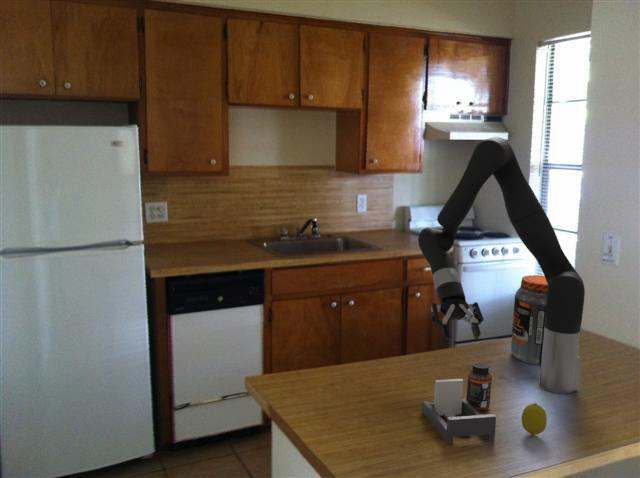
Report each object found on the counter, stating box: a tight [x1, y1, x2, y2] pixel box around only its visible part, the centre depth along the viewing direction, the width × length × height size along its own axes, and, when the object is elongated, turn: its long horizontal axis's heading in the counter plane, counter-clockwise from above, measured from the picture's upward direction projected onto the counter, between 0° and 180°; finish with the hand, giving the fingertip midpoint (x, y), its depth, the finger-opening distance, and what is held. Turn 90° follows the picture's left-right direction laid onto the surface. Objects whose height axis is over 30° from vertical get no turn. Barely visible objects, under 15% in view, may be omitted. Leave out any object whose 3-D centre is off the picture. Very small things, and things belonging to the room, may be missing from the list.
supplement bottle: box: [465, 362, 493, 412], centre depth 149 cm, size 6×6×11 cm
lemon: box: [521, 402, 548, 437], centre depth 135 cm, size 6×6×8 cm
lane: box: [421, 397, 497, 446], centre depth 139 cm, size 11×16×6 cm
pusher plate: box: [433, 378, 464, 420], centre depth 139 cm, size 7×11×9 cm, turn 11°
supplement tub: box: [510, 274, 548, 366], centre depth 184 cm, size 16×16×26 cm
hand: (462, 338), depth 158 cm, fingers open, 8 cm apart
